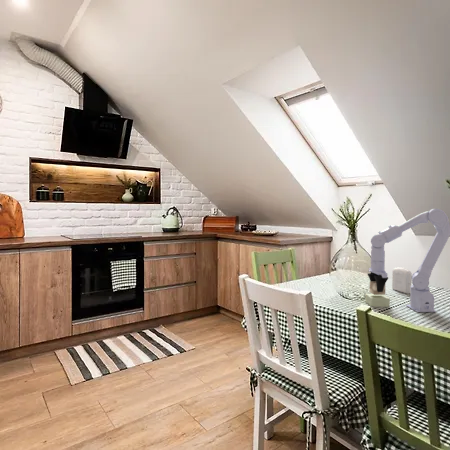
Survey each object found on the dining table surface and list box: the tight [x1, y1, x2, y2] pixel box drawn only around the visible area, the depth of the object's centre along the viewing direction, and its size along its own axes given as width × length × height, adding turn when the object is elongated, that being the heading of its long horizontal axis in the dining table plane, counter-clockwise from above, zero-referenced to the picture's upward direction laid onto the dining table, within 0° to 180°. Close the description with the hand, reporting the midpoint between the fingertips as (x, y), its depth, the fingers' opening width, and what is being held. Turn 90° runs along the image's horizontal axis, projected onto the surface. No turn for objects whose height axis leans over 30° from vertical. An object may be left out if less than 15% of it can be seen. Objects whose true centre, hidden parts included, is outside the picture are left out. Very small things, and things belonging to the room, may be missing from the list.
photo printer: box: [391, 266, 413, 294], centre depth 182 cm, size 10×4×12 cm, turn 17°
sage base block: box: [364, 293, 391, 308], centre depth 160 cm, size 8×8×4 cm
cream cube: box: [369, 280, 387, 296], centre depth 160 cm, size 5×5×5 cm
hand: (377, 290), depth 160 cm, fingers closed on cream cube, 5 cm apart
